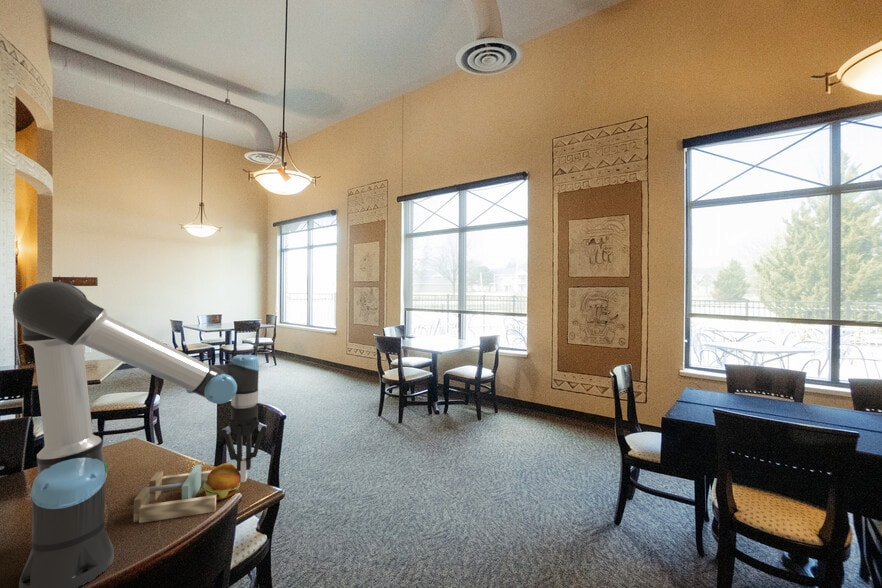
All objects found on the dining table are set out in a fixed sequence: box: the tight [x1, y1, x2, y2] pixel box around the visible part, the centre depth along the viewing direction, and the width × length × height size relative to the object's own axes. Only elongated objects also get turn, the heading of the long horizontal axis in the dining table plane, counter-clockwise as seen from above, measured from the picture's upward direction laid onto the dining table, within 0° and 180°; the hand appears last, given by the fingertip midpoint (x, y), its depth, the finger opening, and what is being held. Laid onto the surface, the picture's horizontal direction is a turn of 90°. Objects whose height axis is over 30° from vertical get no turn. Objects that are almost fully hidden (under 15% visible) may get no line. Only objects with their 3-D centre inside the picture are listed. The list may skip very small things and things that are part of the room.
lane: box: [133, 469, 217, 524], centre depth 117 cm, size 20×19×6 cm
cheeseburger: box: [201, 462, 241, 501], centre depth 120 cm, size 10×11×10 cm
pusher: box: [139, 463, 202, 500], centre depth 115 cm, size 14×14×7 cm
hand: (243, 480), depth 122 cm, fingers closed
